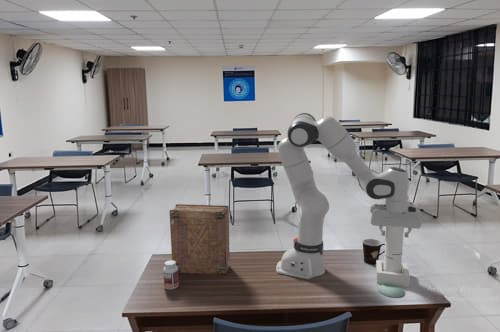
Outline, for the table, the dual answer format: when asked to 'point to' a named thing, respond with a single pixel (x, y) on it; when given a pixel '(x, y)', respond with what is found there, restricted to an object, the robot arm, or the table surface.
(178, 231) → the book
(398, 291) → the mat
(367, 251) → the coffee mug
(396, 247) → the cylindrical container
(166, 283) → the pill bottle
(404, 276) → the holder
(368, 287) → the table surface
